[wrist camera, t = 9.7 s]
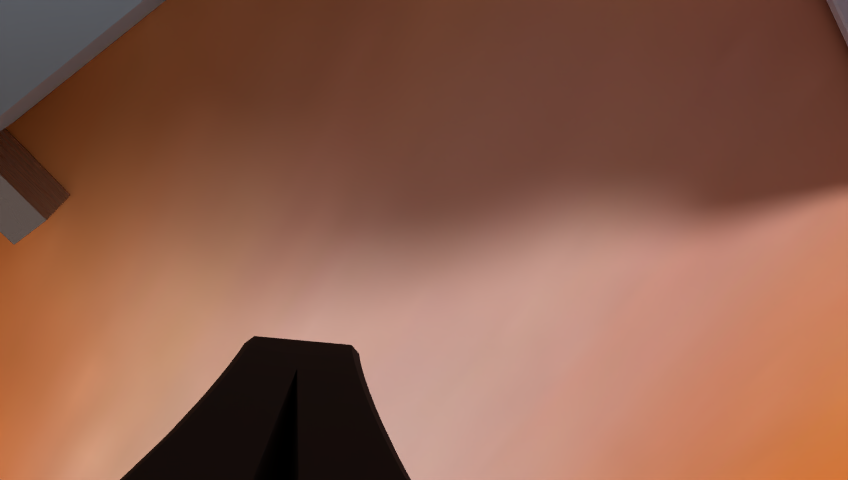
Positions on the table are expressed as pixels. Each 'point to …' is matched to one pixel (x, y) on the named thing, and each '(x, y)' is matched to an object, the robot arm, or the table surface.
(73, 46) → the sliding jaw
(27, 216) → the guide rail
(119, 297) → the table surface
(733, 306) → the table surface
